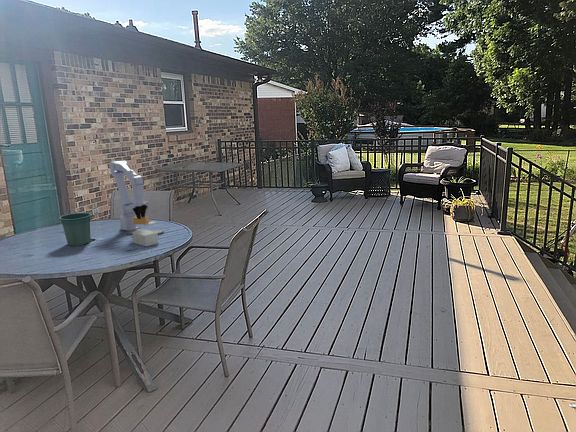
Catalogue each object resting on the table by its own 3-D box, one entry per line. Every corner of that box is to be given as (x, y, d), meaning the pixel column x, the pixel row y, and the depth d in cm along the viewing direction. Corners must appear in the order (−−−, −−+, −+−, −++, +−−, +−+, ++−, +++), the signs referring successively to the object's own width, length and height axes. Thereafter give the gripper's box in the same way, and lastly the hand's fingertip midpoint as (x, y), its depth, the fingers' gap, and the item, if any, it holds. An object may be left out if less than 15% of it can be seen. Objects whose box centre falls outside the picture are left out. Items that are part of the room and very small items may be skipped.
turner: (131, 224, 269) (130, 218, 268) (139, 222, 275) (138, 216, 274) (150, 225, 262) (149, 218, 261) (158, 222, 268) (157, 216, 268)
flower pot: (82, 247, 243) (78, 219, 239) (56, 246, 246) (52, 218, 243) (100, 239, 259) (97, 212, 255) (75, 238, 262) (72, 212, 258)
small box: (133, 243, 250) (145, 246, 241) (132, 232, 248) (144, 235, 240) (146, 240, 256) (158, 243, 247) (144, 229, 254) (157, 232, 246)
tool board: (127, 234, 269) (127, 232, 269) (139, 230, 278) (138, 228, 278) (152, 237, 261) (152, 235, 261) (164, 233, 270) (163, 231, 270)
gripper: (135, 198, 258) (137, 221, 261) (152, 194, 271) (154, 215, 273) (126, 197, 261) (128, 220, 264) (143, 193, 273) (145, 215, 276)
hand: (141, 218), depth 269 cm, fingers closed on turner, 3 cm apart
